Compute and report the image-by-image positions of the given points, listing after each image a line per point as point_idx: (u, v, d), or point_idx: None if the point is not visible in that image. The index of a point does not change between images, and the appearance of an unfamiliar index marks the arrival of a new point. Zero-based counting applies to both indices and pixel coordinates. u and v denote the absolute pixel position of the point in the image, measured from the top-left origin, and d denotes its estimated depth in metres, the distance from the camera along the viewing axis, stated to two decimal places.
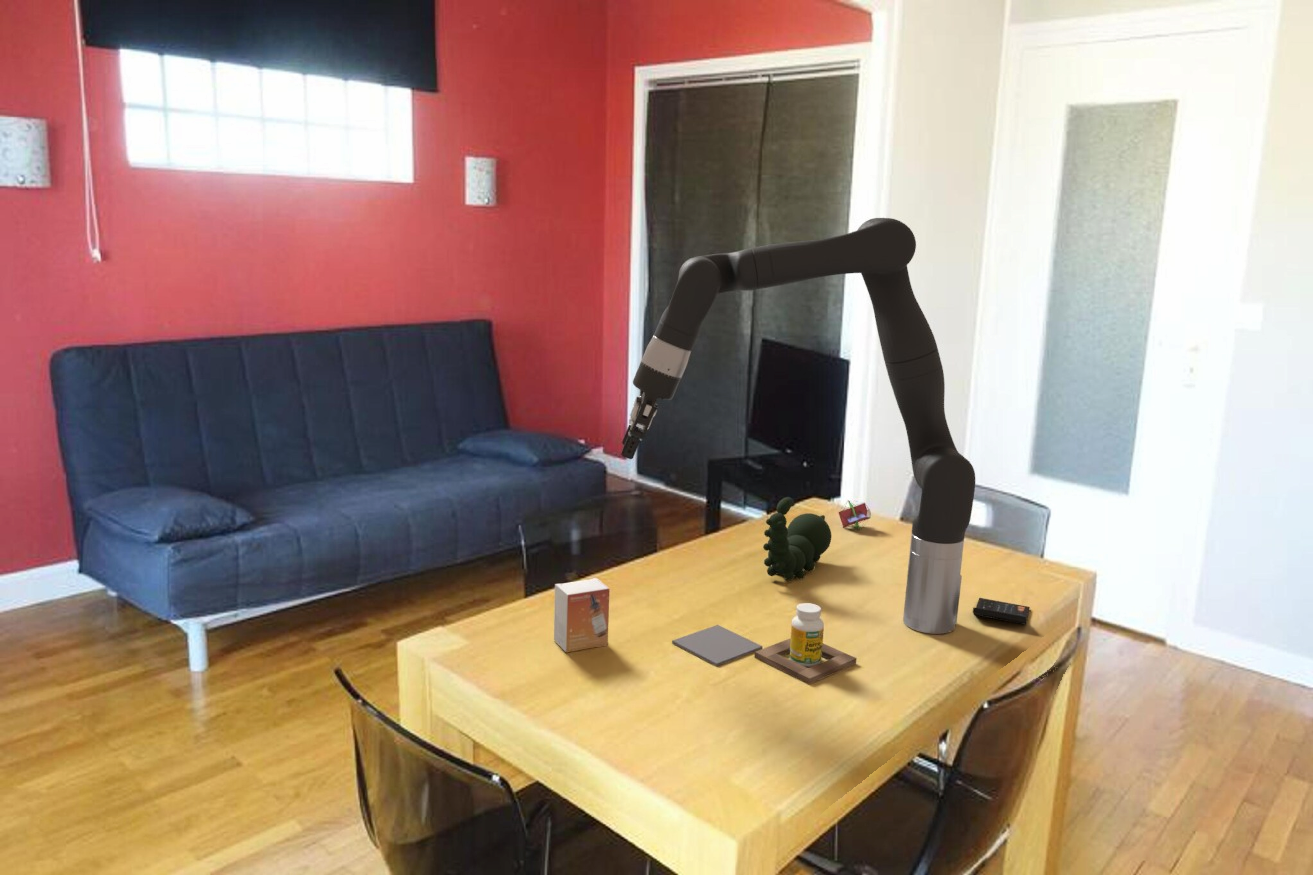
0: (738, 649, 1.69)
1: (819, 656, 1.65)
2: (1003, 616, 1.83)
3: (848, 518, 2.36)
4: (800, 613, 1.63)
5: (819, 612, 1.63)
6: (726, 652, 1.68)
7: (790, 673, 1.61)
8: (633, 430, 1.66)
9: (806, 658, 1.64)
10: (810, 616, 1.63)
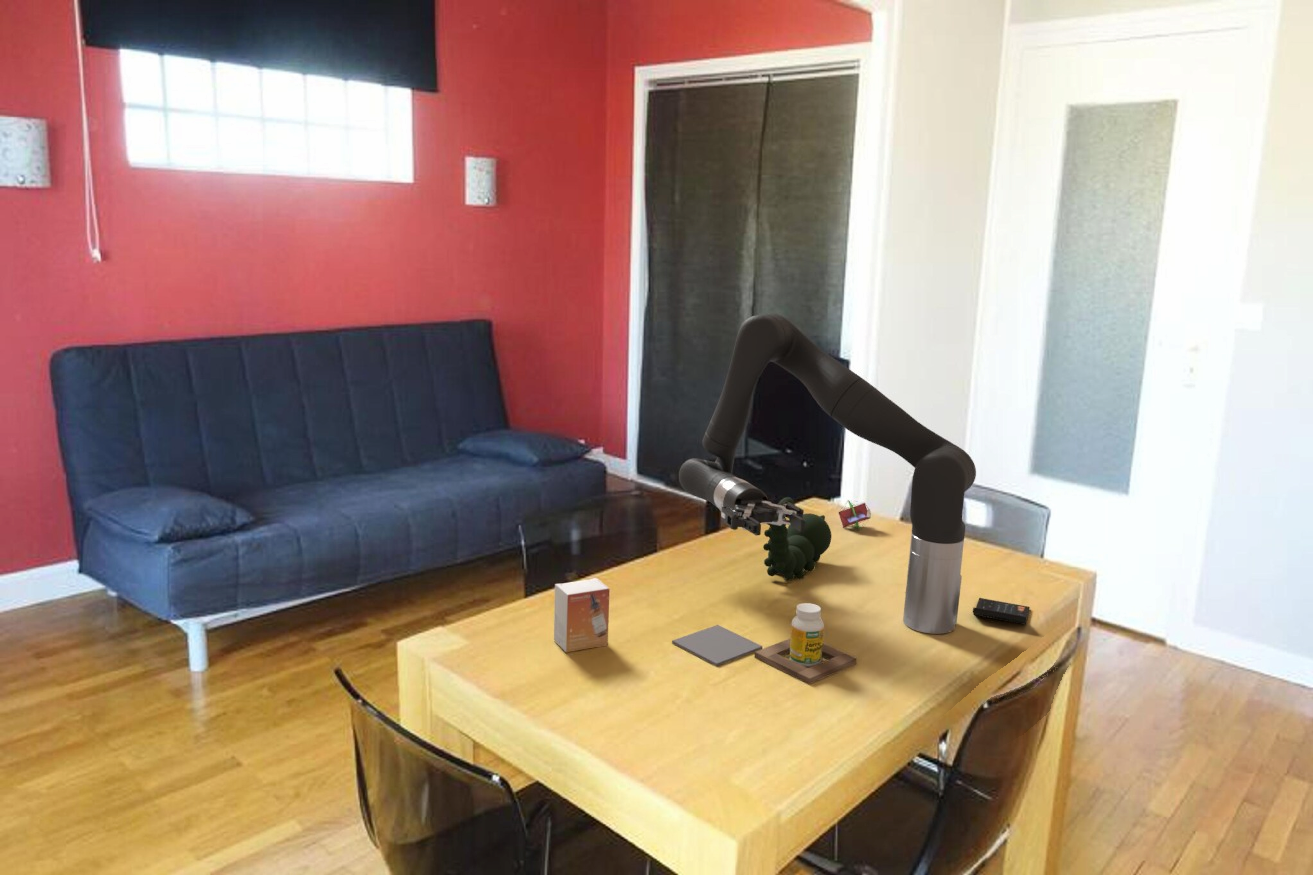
0: (738, 649, 1.69)
1: (819, 656, 1.65)
2: (1003, 616, 1.83)
3: (848, 518, 2.36)
4: (800, 613, 1.63)
5: (819, 612, 1.63)
6: (726, 652, 1.68)
7: (790, 673, 1.61)
8: (730, 526, 1.75)
9: (806, 658, 1.64)
10: (810, 616, 1.63)
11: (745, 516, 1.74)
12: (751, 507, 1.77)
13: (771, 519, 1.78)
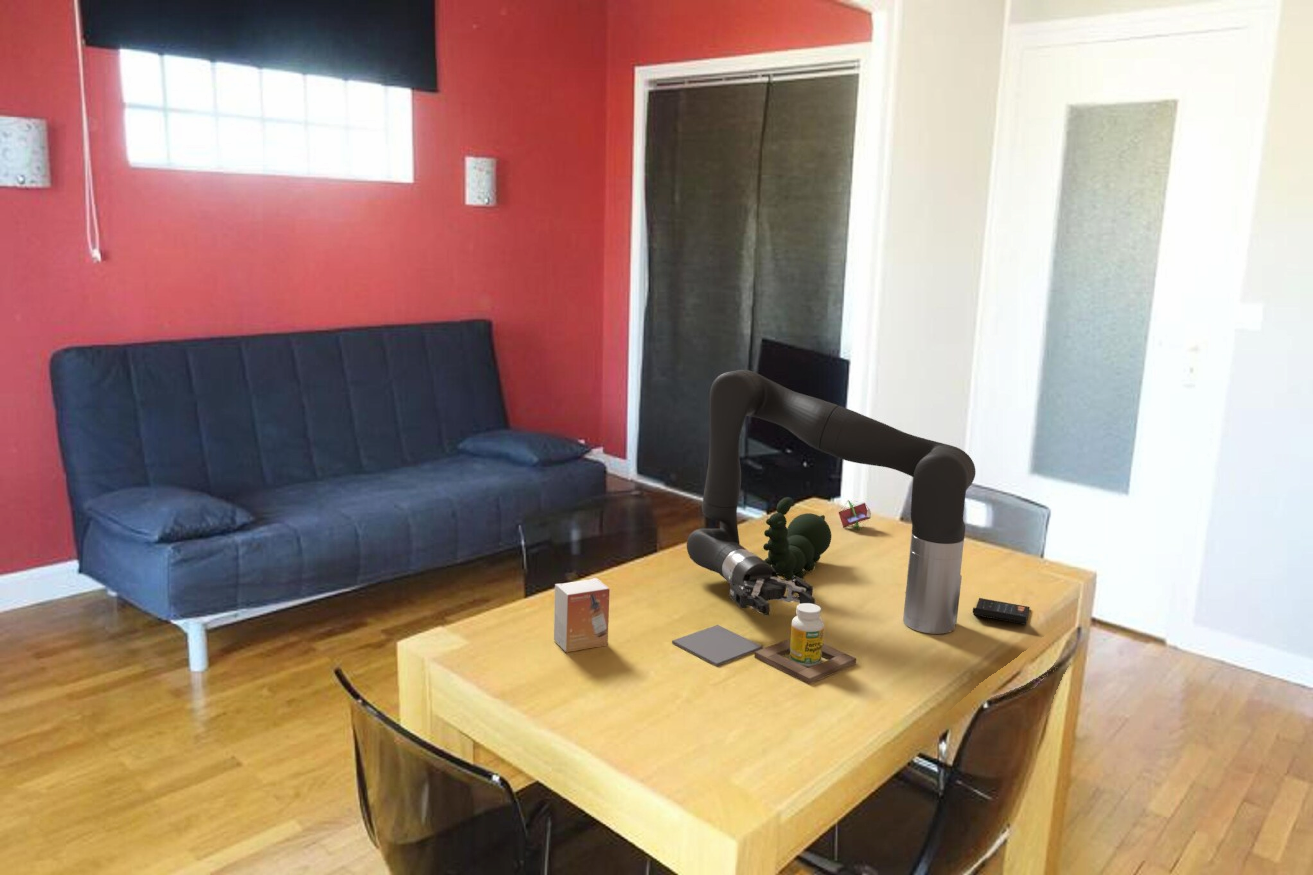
0: (738, 649, 1.69)
1: (819, 656, 1.65)
2: (1003, 616, 1.83)
3: (848, 518, 2.36)
4: (800, 613, 1.63)
5: (819, 612, 1.63)
6: (726, 652, 1.68)
7: (790, 673, 1.61)
8: (739, 604, 1.73)
9: (806, 658, 1.64)
10: (810, 616, 1.63)
11: (754, 595, 1.72)
12: (760, 584, 1.76)
13: (780, 596, 1.77)
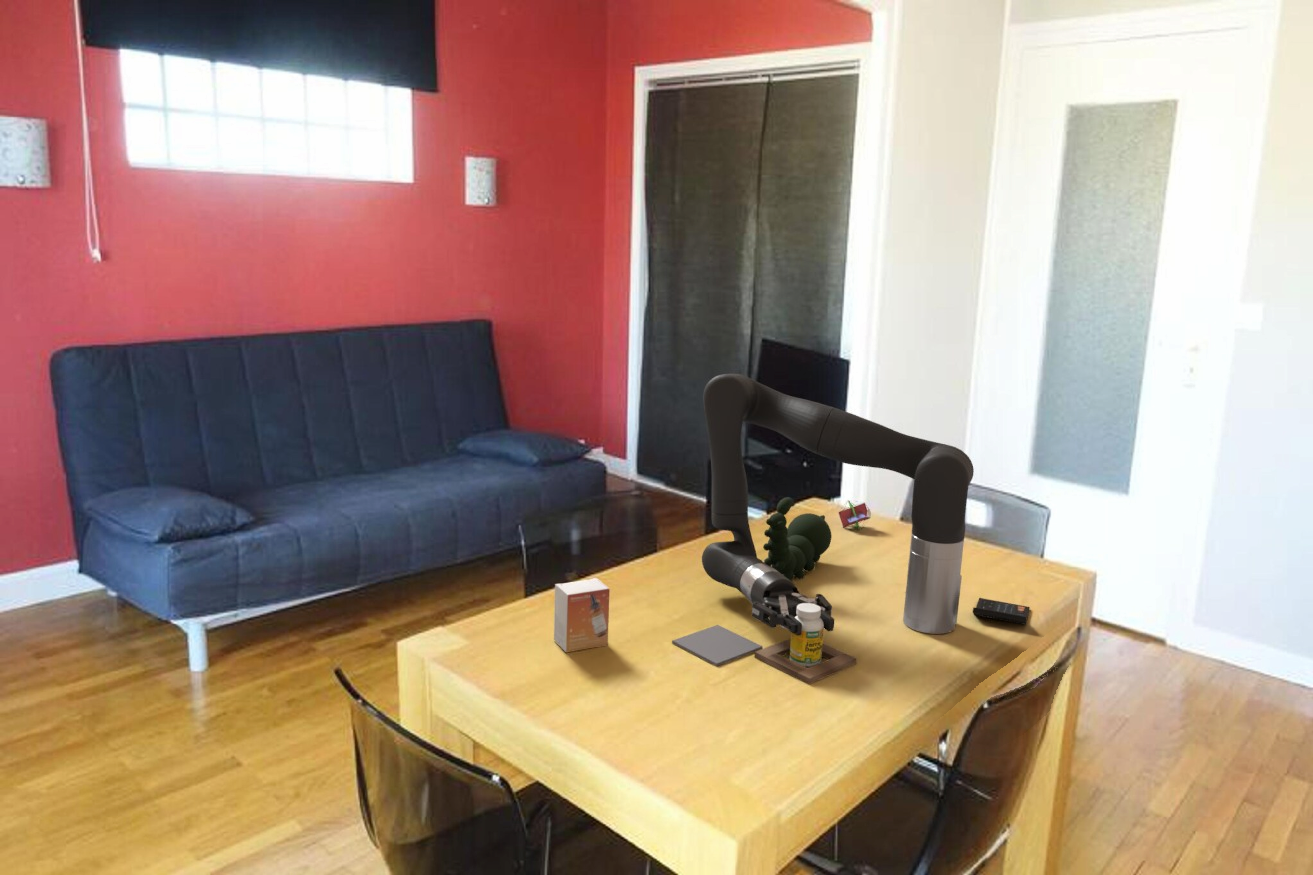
0: (738, 649, 1.69)
1: (819, 656, 1.65)
2: (1003, 616, 1.83)
3: (848, 518, 2.36)
4: (800, 613, 1.63)
5: (819, 612, 1.63)
6: (726, 652, 1.68)
7: (790, 673, 1.61)
8: (768, 623, 1.66)
9: (806, 658, 1.64)
10: (810, 615, 1.63)
11: (785, 614, 1.65)
12: (784, 601, 1.69)
13: None
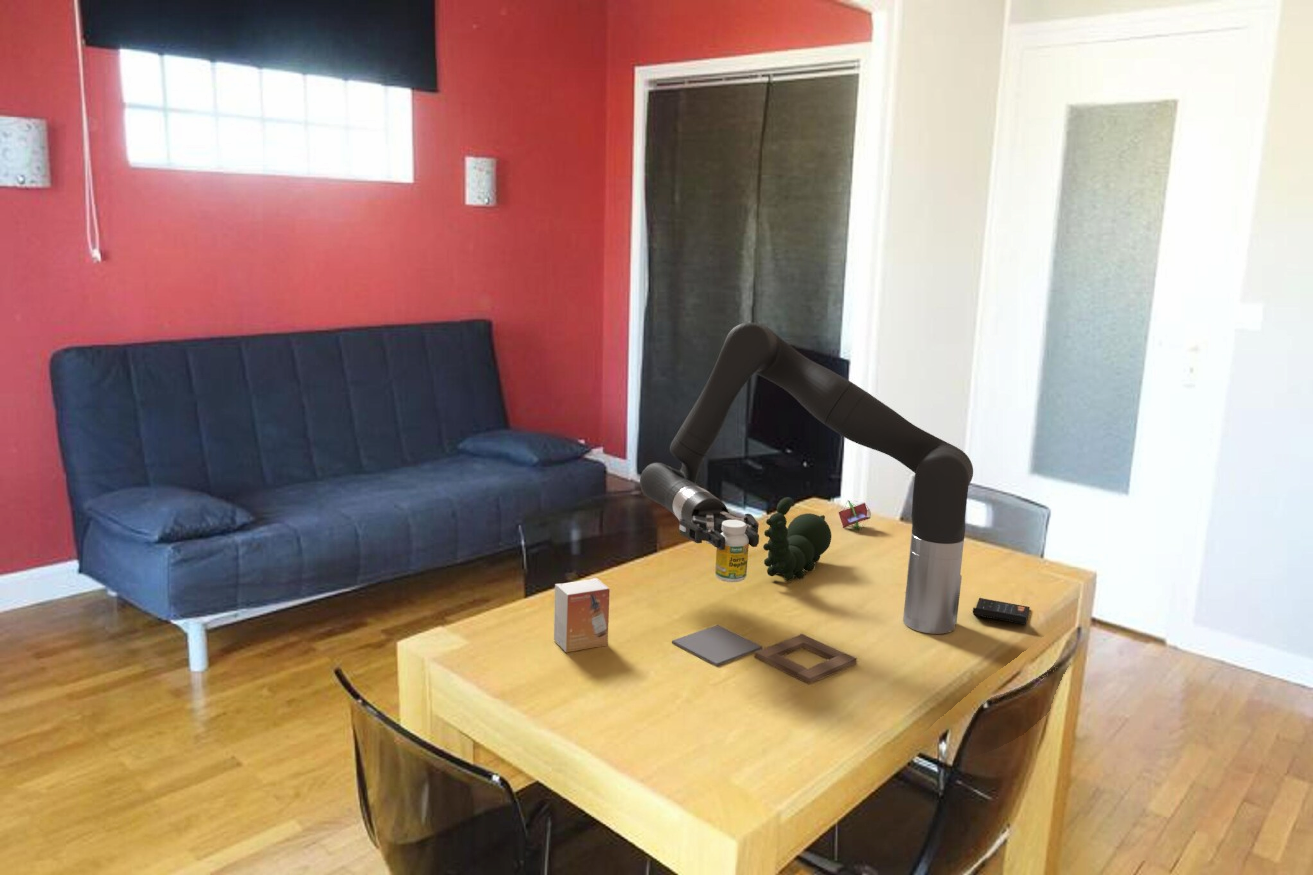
0: (738, 649, 1.69)
1: (743, 572, 1.66)
2: (1003, 616, 1.83)
3: (848, 518, 2.36)
4: (724, 528, 1.64)
5: (743, 527, 1.64)
6: (726, 652, 1.68)
7: (790, 673, 1.61)
8: (694, 539, 1.67)
9: (730, 573, 1.65)
10: (734, 531, 1.64)
11: (710, 529, 1.66)
12: (711, 519, 1.70)
13: None
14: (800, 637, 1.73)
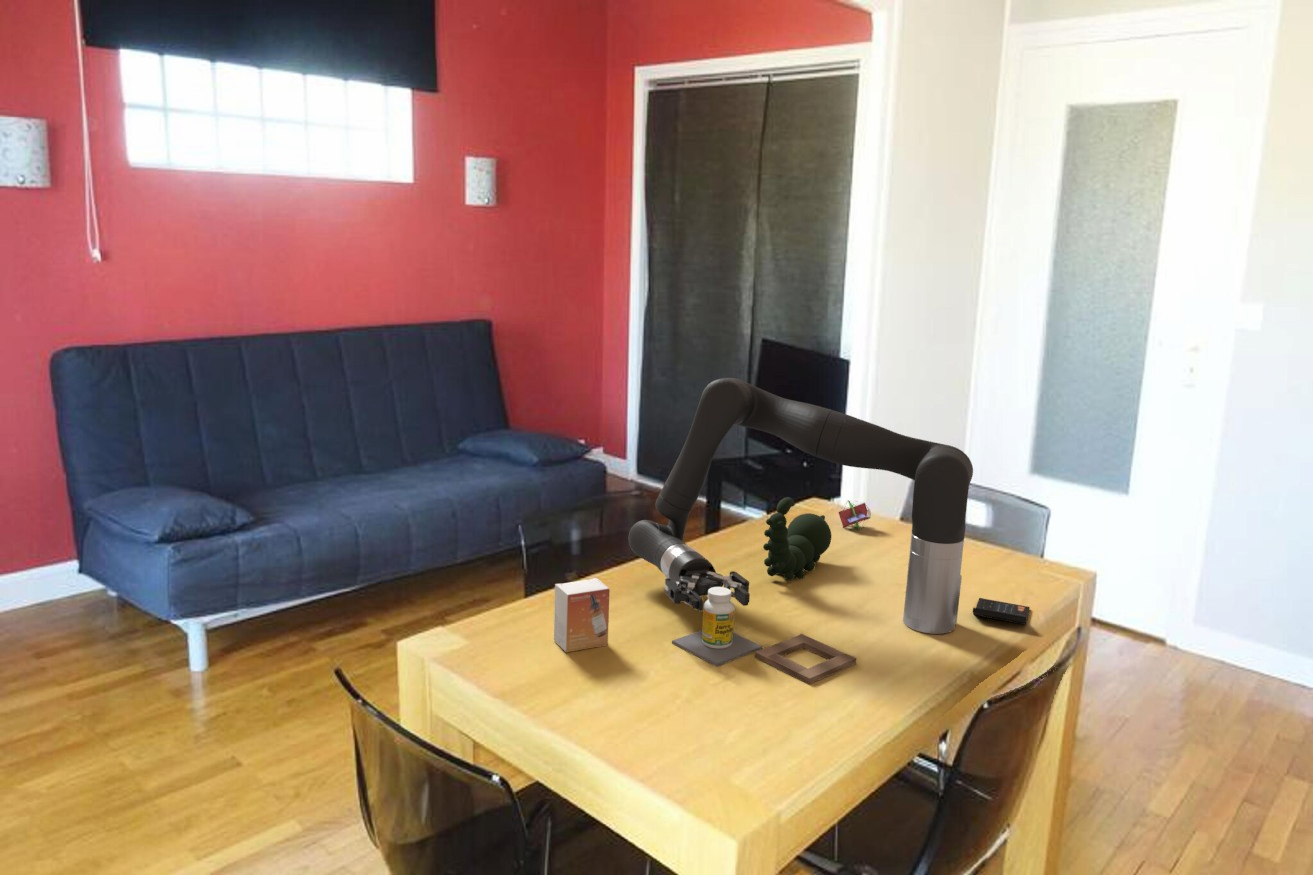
0: (738, 649, 1.69)
1: (729, 638, 1.69)
2: (1003, 616, 1.83)
3: (848, 518, 2.36)
4: (710, 596, 1.68)
5: (729, 595, 1.68)
6: (726, 652, 1.68)
7: (790, 673, 1.61)
8: (673, 600, 1.70)
9: (717, 640, 1.68)
10: (720, 599, 1.67)
11: (688, 590, 1.69)
12: (695, 579, 1.73)
13: None
14: (800, 637, 1.73)
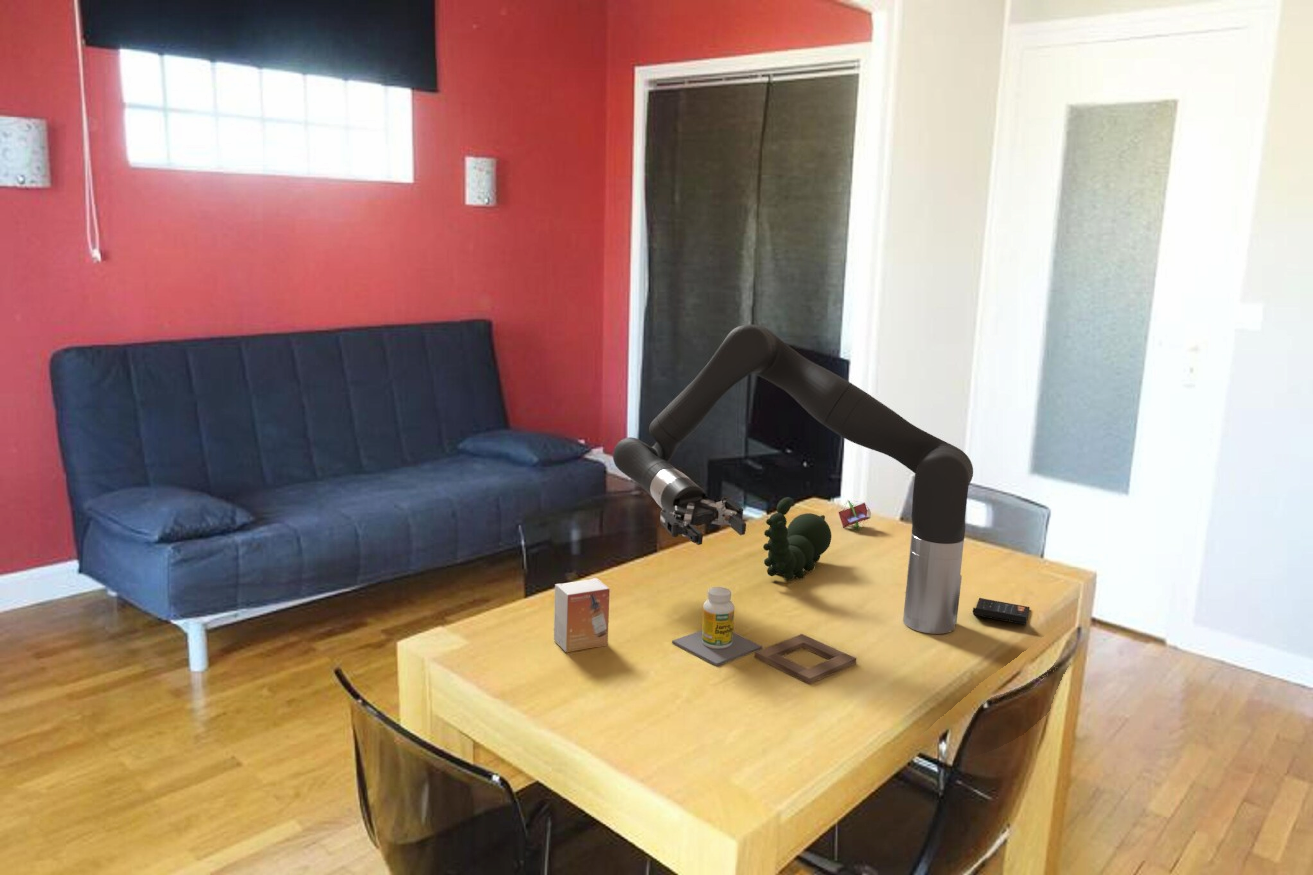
0: (738, 649, 1.69)
1: (729, 638, 1.69)
2: (1003, 616, 1.83)
3: (848, 518, 2.36)
4: (710, 596, 1.68)
5: (729, 595, 1.68)
6: (726, 652, 1.68)
7: (790, 673, 1.61)
8: (670, 533, 1.72)
9: (717, 640, 1.68)
10: (720, 599, 1.67)
11: (686, 523, 1.71)
12: (691, 510, 1.74)
13: (711, 520, 1.76)
14: (800, 637, 1.73)
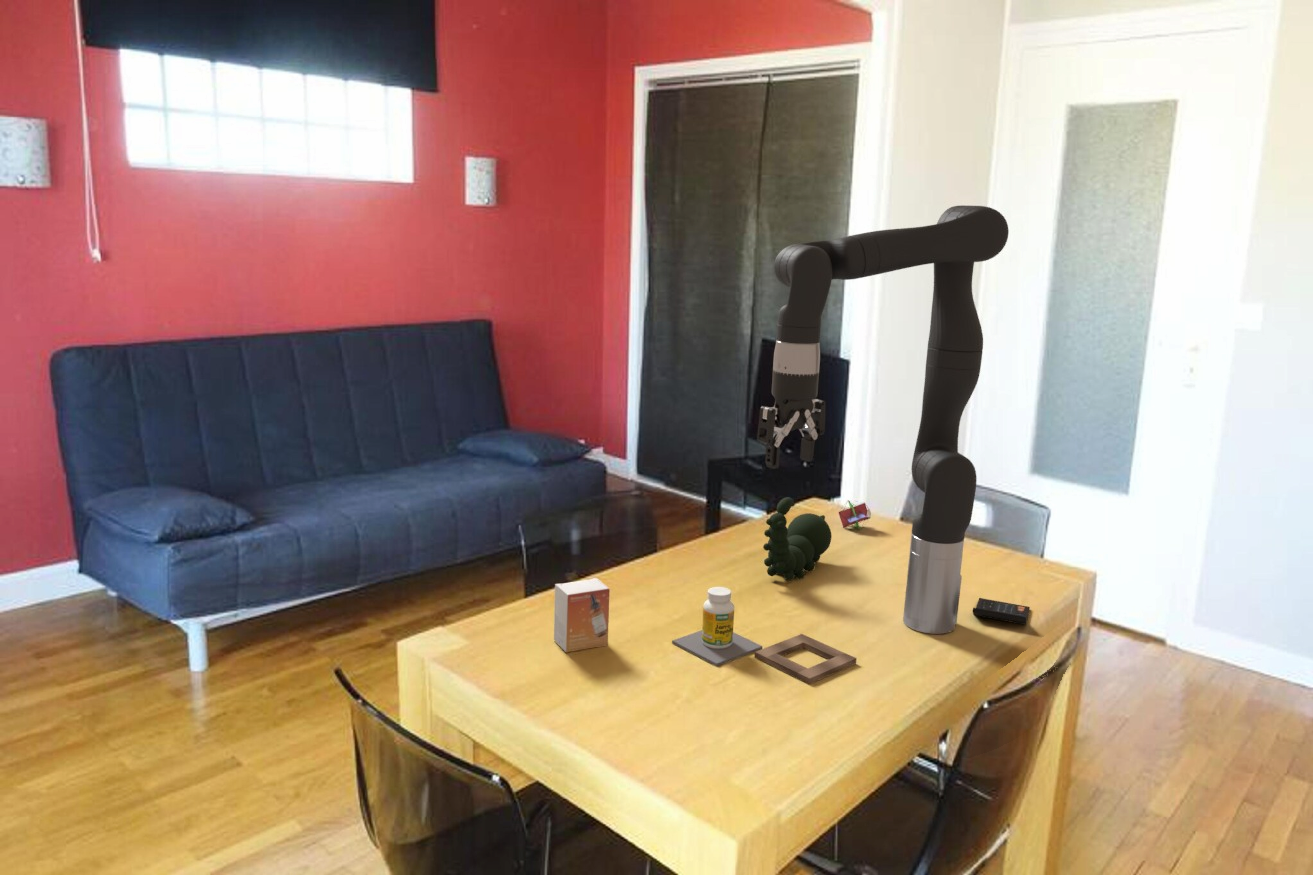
0: (738, 649, 1.69)
1: (729, 638, 1.69)
2: (1003, 616, 1.82)
3: (848, 518, 2.36)
4: (710, 596, 1.68)
5: (729, 595, 1.68)
6: (726, 652, 1.68)
7: (790, 673, 1.61)
8: (758, 436, 1.61)
9: (717, 640, 1.68)
10: (720, 599, 1.67)
11: (776, 445, 1.61)
12: (791, 425, 1.62)
13: None
14: (800, 637, 1.73)
